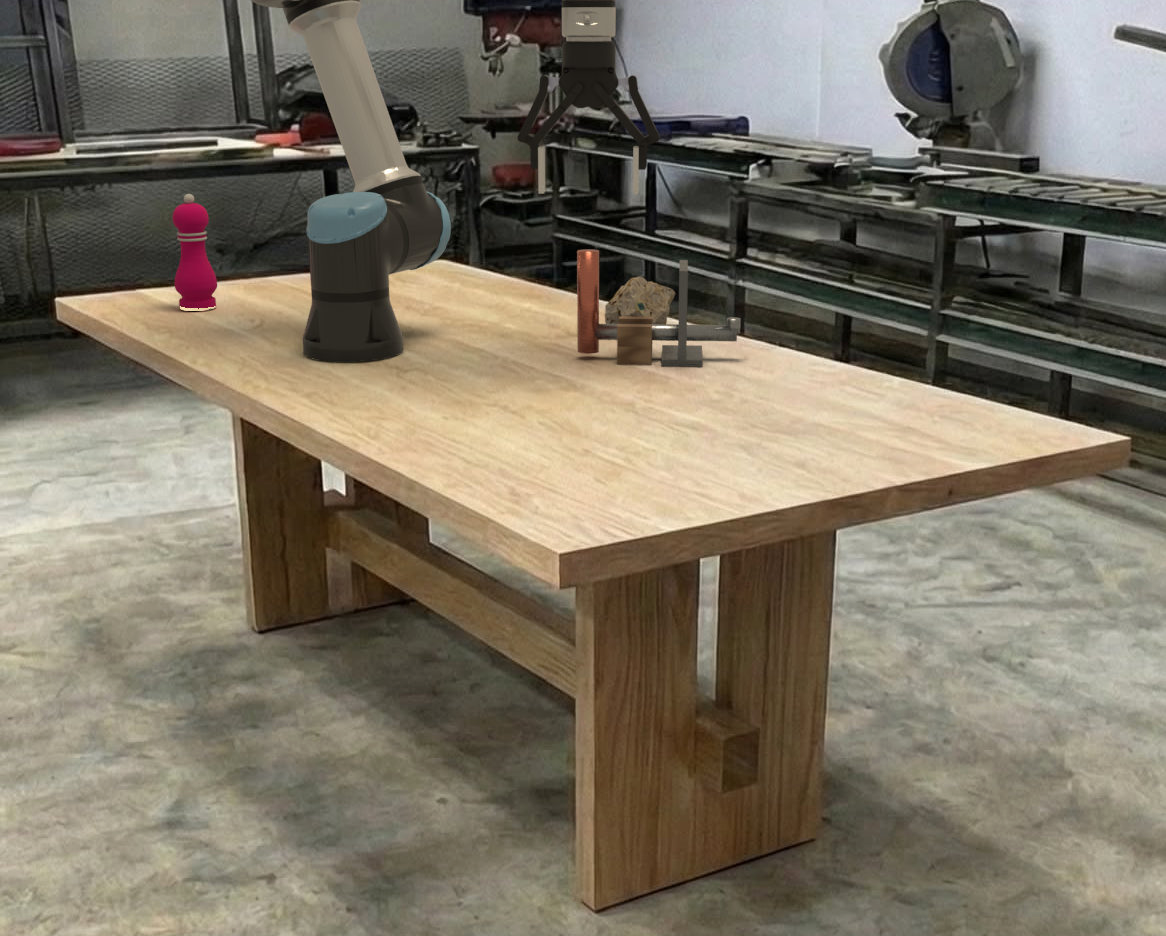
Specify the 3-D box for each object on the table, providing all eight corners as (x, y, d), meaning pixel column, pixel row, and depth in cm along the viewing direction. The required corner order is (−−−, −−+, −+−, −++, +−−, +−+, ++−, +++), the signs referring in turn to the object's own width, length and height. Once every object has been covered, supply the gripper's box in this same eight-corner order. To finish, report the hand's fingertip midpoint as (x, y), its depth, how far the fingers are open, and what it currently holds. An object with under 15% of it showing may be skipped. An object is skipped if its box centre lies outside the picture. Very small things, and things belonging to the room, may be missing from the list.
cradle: (617, 364, 211) (617, 326, 209) (619, 352, 219) (619, 316, 217) (651, 364, 211) (651, 327, 209) (652, 352, 218) (652, 316, 217)
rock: (619, 333, 227) (632, 270, 227) (596, 331, 232) (608, 270, 232) (680, 348, 233) (692, 288, 233) (656, 347, 239) (668, 288, 239)
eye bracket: (661, 366, 210) (662, 270, 206) (662, 351, 219) (663, 259, 215) (702, 366, 209) (704, 271, 205) (701, 352, 219) (703, 260, 215)
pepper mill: (168, 311, 251) (158, 195, 245) (191, 304, 257) (181, 190, 252) (205, 313, 249) (195, 196, 243) (226, 306, 255) (218, 192, 250)
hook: (576, 353, 213) (576, 252, 209) (578, 348, 217) (577, 249, 212) (739, 355, 212) (743, 253, 208) (739, 350, 215) (742, 250, 211)
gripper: (497, 40, 199) (500, 195, 205) (677, 39, 198) (675, 196, 204) (503, 39, 206) (505, 189, 212) (677, 39, 205) (675, 190, 211)
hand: (588, 193), depth 208 cm, fingers open, 13 cm apart
